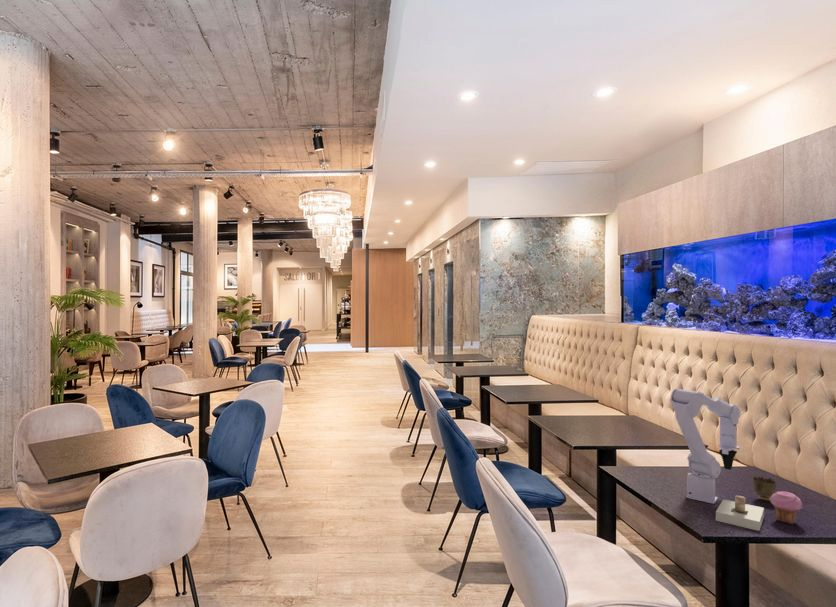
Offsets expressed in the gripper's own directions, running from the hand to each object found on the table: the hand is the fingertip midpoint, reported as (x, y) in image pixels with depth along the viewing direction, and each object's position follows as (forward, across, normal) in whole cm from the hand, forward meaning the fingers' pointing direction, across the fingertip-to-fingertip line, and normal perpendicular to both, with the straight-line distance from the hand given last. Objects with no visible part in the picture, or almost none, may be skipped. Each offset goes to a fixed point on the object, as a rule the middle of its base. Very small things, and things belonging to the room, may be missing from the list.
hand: (727, 468), depth 201 cm
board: (+10, -26, -7) cm, 29 cm away
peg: (+10, -28, -7) cm, 30 cm away
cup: (+10, +2, -12) cm, 16 cm away
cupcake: (+10, -18, -20) cm, 28 cm away
